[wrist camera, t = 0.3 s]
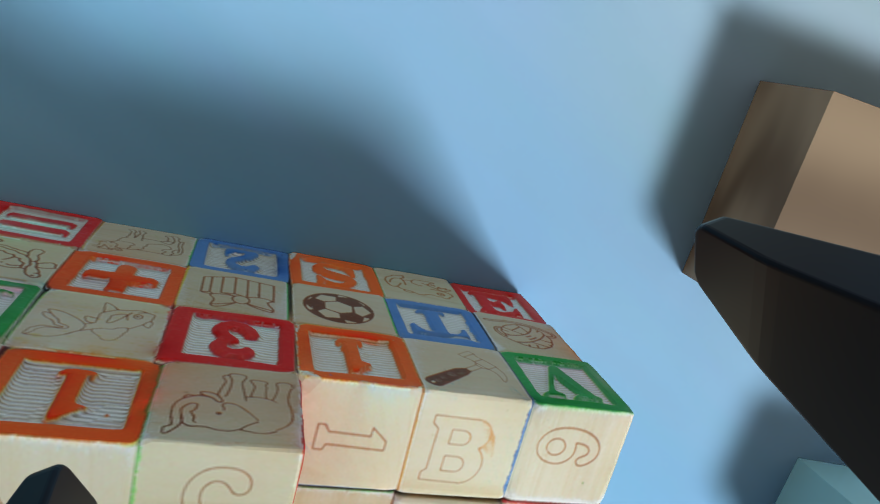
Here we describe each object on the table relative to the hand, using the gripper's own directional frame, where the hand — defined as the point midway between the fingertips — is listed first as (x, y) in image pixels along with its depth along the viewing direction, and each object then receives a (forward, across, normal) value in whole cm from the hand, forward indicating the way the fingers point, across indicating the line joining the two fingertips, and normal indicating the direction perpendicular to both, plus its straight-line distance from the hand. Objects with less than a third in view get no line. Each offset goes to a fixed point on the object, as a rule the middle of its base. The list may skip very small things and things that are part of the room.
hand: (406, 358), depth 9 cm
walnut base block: (+13, -18, +12) cm, 25 cm away
